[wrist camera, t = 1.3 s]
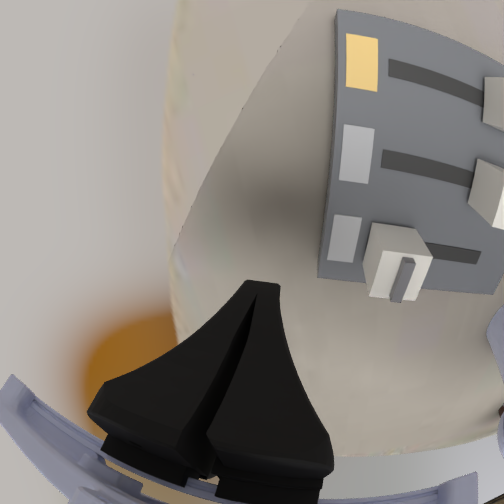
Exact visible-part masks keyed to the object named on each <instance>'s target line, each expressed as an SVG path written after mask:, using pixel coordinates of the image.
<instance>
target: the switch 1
mask: <svg viewBox="0 0 504 504" xmlns="http://www.w3.org/2000/svg"><path fill="white" fill-rule="evenodd" d="M432 258H433V256H432V255H431V253H430V251H429V249H428V248H427V246H426V244H425V243H424V241H423V240H422V238H421V236H420V235H419V233H418V232H417V230H416V229H413V228H407V227H401V226H394V225H387V224H380V223H373V222H372V226H371V231H370V235H369V239H368V244H367V248H366V252H365V256H364V260H363V269H364V274H365V279H366V284H367V289H368V295H369V297H378V298H389V299H390V301H391V302H398V303H401V301H402V300H413V301H415V300H416V298H417V295H418V293H419V291H420V288H421V286H422V284H423V281H424V279H425V276H426V274H427V271H428V269H429V266H430V264H431V261H432Z"/></svg>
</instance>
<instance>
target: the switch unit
mask: <svg viewBox="0 0 504 504" xmlns="http://www.w3.org/2000/svg"><path fill="white" fill-rule="evenodd" d="M485 77H504V65H502V64H500V63H499V62H497V61H495V60H493V59H492V58H490V57H488V56H486V55H484V54H482V53H480V52H478V51H476V50H474V49H472V48H470V47H468V46H466V45H464V44H462V43H459V42H457V41H455V40H453V39H450V38H448V37H445V36H443V35H440V34H437V33H435V32H432V31H429V30H426V29H423V28H420V27H417V26H414V25H411V24H408V23H404V22H400V21H397V20H393V19H389V18H385V17H380V16H376V15H371V14H366V13H361V12H355V11H348V10H341V9H337V12H336V16H335V91H334V114H333V131H332V145H331V157H330V168H329V178H328V188H327V197H326V205H325V214H324V221H323V229H322V236H321V243H320V250H319V256H318V274H317V278H325V279H334V280H343V281H352V282H362V283H366V279H365V274H364V269H363V260H364V256H365V252H366V248H367V244H368V239H369V235H370V231H371V226H372V222H373V223H380V224H387V225H394V226H401V227H407V228H413V229H416V230H417V232H418V233H419V235H420V236H421V238H422V240H423V241H424V243H425V244H426V246H427V248H428V249H429V251H430V253H431V255H432V256H433V258H432V261H431V264H430V266H429V269H428V271H427V274H426V276H425V279H424V281H423V284H422V286H421V289H432V290H443V291H454V292H466V293H478V294H491V295H493V294H494V292H495V290H496V288H497V286H498V284H499V282H500V280H501V278H502V276H503V274H504V230H503V229H499V228H495V227H492V226H491V225H490V224H489V223H488V222H487V221H486V220H485V219H484V218H483V217H482V216H481V215H480V214H479V213H478V212H476V211H475V210H474V209H473V208H472V207H471V206H470V205H469V204H468V200H469V196H470V192H471V188H472V184H473V179H474V175H475V170H476V165H477V159H480V160H483V161H486V162H488V163H491V164H494V165H496V166H499V167H501V168H503V169H504V132H503V131H501V130H499V129H497V128H494V127H492V126H490V125H488V124H486V123H483V112H484V93H485Z"/></svg>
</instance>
